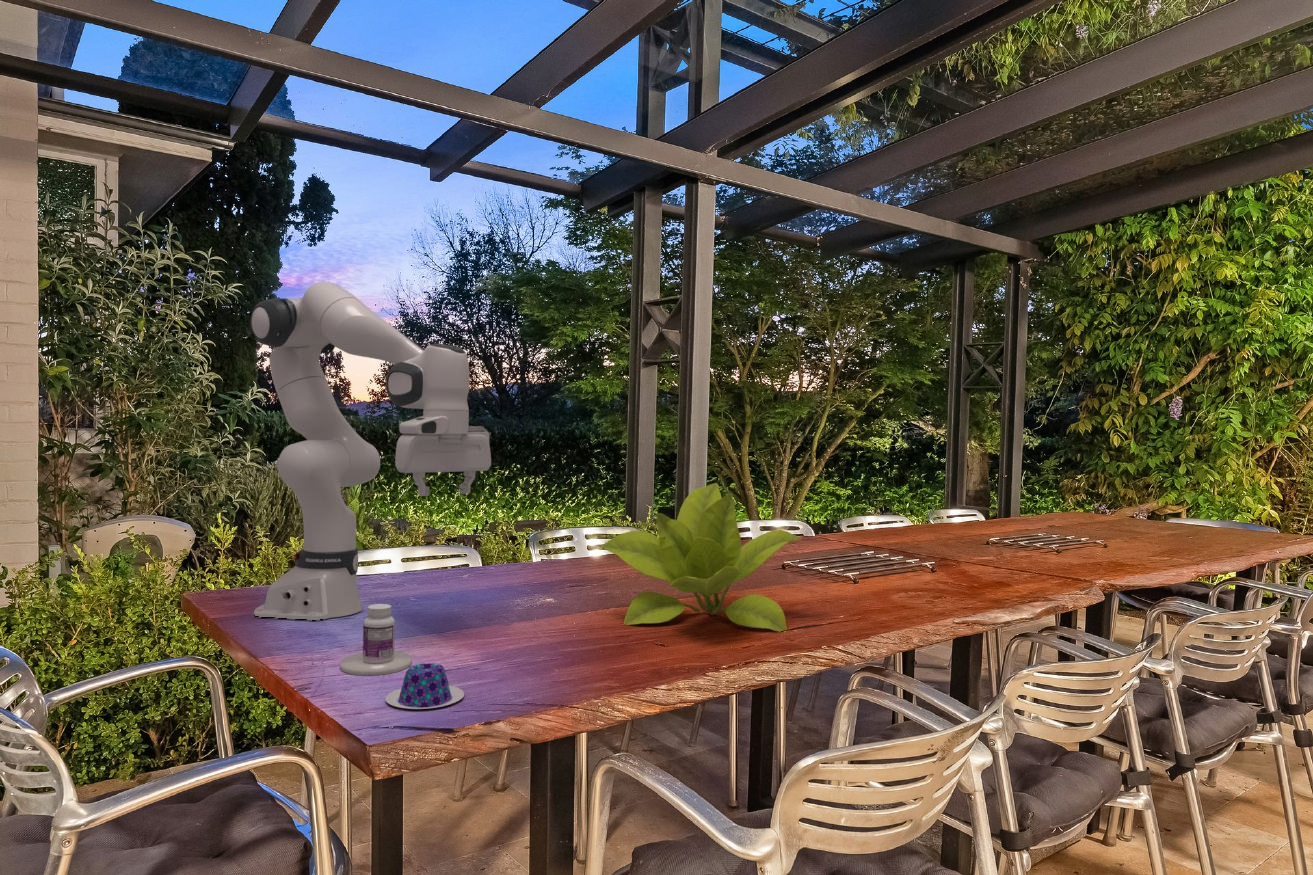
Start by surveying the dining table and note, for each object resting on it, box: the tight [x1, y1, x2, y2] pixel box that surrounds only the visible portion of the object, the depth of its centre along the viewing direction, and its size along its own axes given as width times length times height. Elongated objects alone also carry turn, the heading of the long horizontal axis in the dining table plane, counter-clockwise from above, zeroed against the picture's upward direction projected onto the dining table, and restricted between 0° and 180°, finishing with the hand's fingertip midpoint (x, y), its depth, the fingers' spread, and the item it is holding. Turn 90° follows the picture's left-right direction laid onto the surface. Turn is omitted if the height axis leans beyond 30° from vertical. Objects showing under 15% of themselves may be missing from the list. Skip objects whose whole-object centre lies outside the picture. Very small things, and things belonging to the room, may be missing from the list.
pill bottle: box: [362, 603, 396, 664], centre depth 149 cm, size 5×5×10 cm
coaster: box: [339, 650, 412, 676], centre depth 150 cm, size 12×12×1 cm
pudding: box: [385, 662, 465, 710], centre depth 132 cm, size 12×12×5 cm
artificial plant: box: [601, 482, 803, 633], centre depth 190 cm, size 42×43×30 cm
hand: (444, 494), depth 167 cm, fingers open, 8 cm apart
